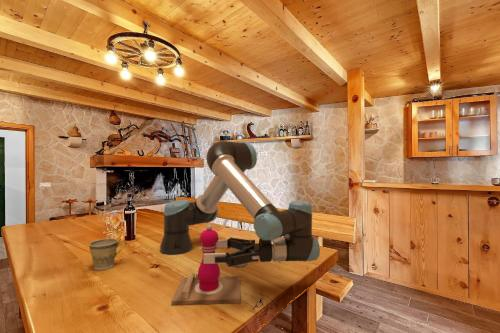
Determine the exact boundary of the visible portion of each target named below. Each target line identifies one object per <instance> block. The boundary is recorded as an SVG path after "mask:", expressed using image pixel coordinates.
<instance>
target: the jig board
mask: <svg viewBox="0 0 500 333" xmlns="http://www.w3.org/2000/svg"><path fill="white" fill-rule="evenodd" d="M218 280H219V286H218V288H217V289H215V290H213V291H202V290H200V289H199V281H200V279H199V278H198V271H197V272H190V273H189V274H188V277H182V278H181V279H180V282H179V284H178V286H177V288H176V290H175V292H174V294H173V297H172V299H171V302H170V303H171V306H188V305H189V304H190V305H192V304H193V305H214V304H215V305H216V304H218V305H221V304H222V305H224V304H226V305H227V304H241V289H240V288H241V287H240V276H238V275H237V276H236V275H235V276H219V278H218ZM187 304H188V305H187Z"/></svg>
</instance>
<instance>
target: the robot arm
mask: <svg viewBox="0 0 500 333" xmlns="http://www.w3.org/2000/svg"><path fill="white" fill-rule="evenodd" d="M257 156H258V155H257V151H256V147H254V145H252V144H251V143H246V142H244V141H243V142H238V141H229V140H219V141H216V142H214V143H213V144H211V145H210V147H209V149H208V150H207V152H206V158H205V159H206V164H207V166H208V168H209V170H210V172H211V173H212V174H213V175H214V176H213V178H212V180H211V181H210V183H209V184H208V186H207V187H206V189H205V191H204V192H203V194H201V195H199V196H197V197H196V199H195V201H191V202H190V201H189V200H187V199H179V200H172V201H169V202H167V203H166V204H165V206H164V208H163V209H164V210H163V211H164V212H163V237H162V239H161V243H160V246H159V252H160V253H161V254H166V255H178V254H179V255H180V254H185V253H187V252H190V251H192V249H193V241H192V239H191V235H190V232H189V231H190V227H191V226H196V225H201V224H208V223H211V222H213V221H215V220H216V218H217V217H218V215H219V214H218V212H219V207H218V204H219V202H220V201H221V199H222V198H223V196H224V195H225V194H226V192H227V191H228V189H229V191H231V193H232V194H233V195H234V197H236V199H237V200H238V201H239V202H240V204H241V206H242V207H243V208H244V209H245V210H246V212H247V213H248V214H249V215H250V216H251V217H252V219H253V229H254V232H255V235H256V236H257V238H258V243H257V242H256V239H245V238H237V237H229V238H228V239H218V241H217V243H216V244H217V249H227V250H228V249H230V248H232V249H238V250H240V251H237V252H235V251H234V252H231V253H229V252H219V253H218V252H215V253H208V254H204V264H211V263H218V264H225V265H227V267H235V266H236V265H240V264H245V263H247V264H248V263H257V262H261V263H270V262H278V263H279V264H281V263H282V262H313V261H317V260H318V259H319V257H320V253H321V252H320V251H321V248H320V242H319V240H318V238H317V237H315V236H314V237H313V234H312V233H313V209H312V208H313V207H312V203H310V202H308V201H303V200H302V201H301V200H294V201H290V202H289V203H288V209H283V210H282V209H281V210H279V209H278V208H277V207H276V206H275V205H274V203H272V202H271V201H270V200H269V199H268V198H267V196H265V194H264V193H263V192H262V191H261V190H260V189H259V188H258V187H257V186H256V184H255V183H254V182H253V181H252V180H251V179H250V178H249V177H248V176H247V174H245V171H247V170H248V171H250V170H252V169H254V168H255V167H256V165H257V162H258V157H257ZM285 236H288V237H285Z"/></svg>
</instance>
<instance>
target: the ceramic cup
mask: <svg viewBox="0 0 500 333" xmlns="http://www.w3.org/2000/svg"><path fill="white" fill-rule="evenodd" d="M123 243H124V244H125V245H124V246H123V247H122V248H120V250H118V252H117V249H118V247H119V245H121V244H123ZM88 246H89V251H90V252H89V253H90V256H91V260H92V264H93V270H96V271H103V270H108V269H110V268H112V267H114V263H115V259H116V257H117V255H118V254H119V253H121V251H122V250H123V249H125V248H126V246H127V242H126V241H124V240H122V241H119V240H118V238H111V237H110V238H102V239H101V238H100V239H96V240H93V241H92V242H91V241H90V243H89V244H88Z"/></svg>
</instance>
